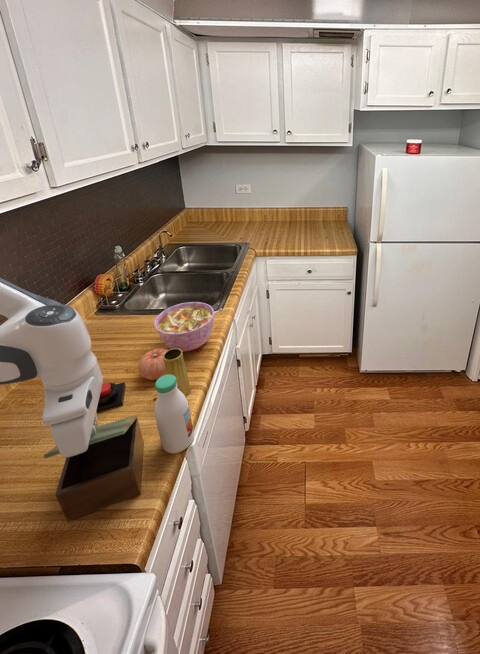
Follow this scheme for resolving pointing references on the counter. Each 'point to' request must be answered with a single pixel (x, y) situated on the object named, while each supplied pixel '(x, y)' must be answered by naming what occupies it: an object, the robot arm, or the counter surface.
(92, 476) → the box
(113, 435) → the lid
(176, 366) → the vase
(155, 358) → the orange pumpkin
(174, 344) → the bowl of food
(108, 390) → the button
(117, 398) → the black button base
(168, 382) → the milk bottle
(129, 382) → the counter surface
